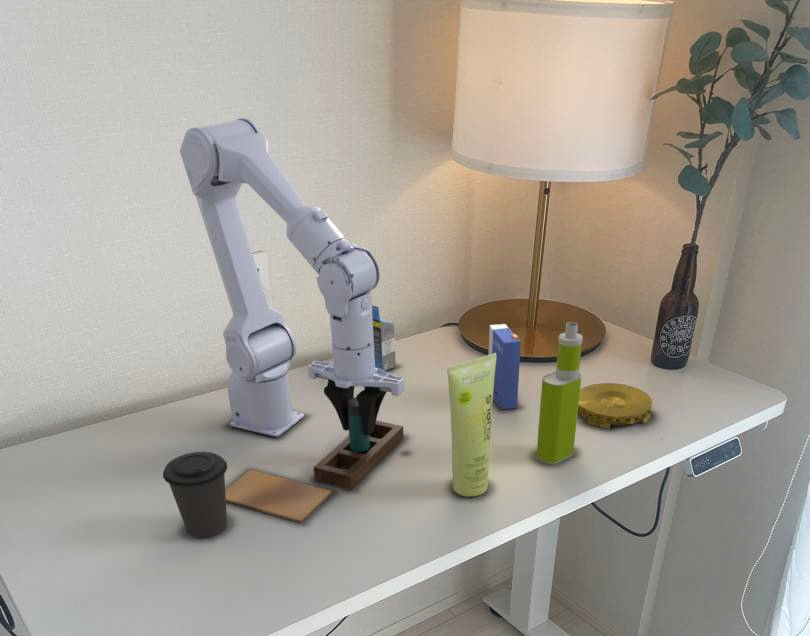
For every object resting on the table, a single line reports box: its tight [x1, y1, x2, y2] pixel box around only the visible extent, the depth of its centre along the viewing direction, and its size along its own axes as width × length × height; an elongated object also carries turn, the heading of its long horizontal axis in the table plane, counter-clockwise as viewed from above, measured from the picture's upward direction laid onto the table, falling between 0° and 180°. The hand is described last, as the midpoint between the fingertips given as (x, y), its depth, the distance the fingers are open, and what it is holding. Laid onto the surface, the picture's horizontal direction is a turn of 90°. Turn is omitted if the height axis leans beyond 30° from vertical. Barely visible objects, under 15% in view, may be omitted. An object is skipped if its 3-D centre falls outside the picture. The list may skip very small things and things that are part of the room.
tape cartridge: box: [372, 304, 397, 372], centre depth 145 cm, size 9×4×12 cm, turn 46°
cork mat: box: [225, 469, 333, 523], centre depth 113 cm, size 14×8×1 cm, turn 63°
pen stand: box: [313, 419, 405, 490], centre depth 120 cm, size 6×16×2 cm, turn 153°
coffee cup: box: [162, 451, 228, 539], centre depth 104 cm, size 8×8×10 cm
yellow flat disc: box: [578, 382, 653, 429], centre depth 130 cm, size 12×12×2 cm
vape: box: [536, 321, 584, 465], centre depth 114 cm, size 4×6×20 cm, turn 129°
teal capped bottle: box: [347, 396, 370, 453], centre depth 117 cm, size 3×3×8 cm
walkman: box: [488, 323, 522, 410], centre depth 132 cm, size 8×3×12 cm, turn 13°
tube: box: [447, 353, 496, 497], centre depth 107 cm, size 6×5×20 cm
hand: (358, 429), depth 118 cm, fingers closed on teal capped bottle, 3 cm apart
